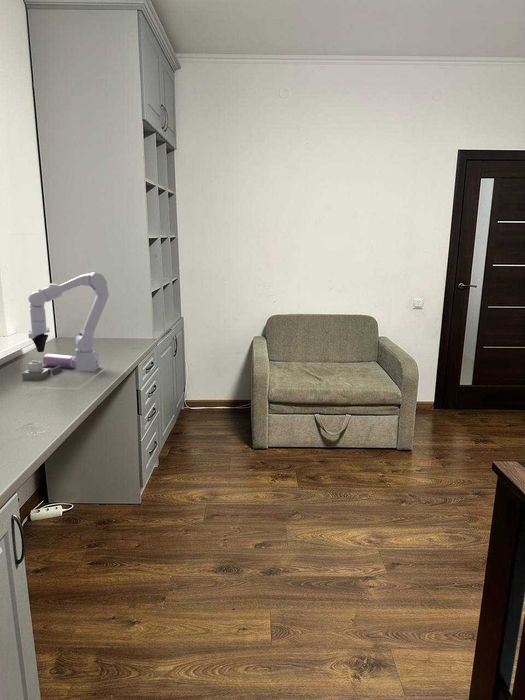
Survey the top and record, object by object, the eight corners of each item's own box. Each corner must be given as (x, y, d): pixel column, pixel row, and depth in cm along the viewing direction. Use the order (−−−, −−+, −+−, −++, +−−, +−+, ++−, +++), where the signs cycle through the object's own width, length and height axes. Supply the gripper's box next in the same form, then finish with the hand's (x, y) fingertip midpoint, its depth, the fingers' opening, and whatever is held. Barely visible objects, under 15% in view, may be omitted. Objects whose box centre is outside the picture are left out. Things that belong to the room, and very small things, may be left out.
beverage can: (41, 367, 217) (71, 370, 214) (41, 354, 217) (71, 357, 213) (50, 365, 223) (79, 368, 220) (50, 352, 222) (79, 355, 219)
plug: (43, 375, 203) (42, 360, 202) (38, 377, 199) (37, 362, 198) (33, 374, 203) (32, 359, 202) (29, 377, 199) (27, 362, 198)
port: (50, 376, 205) (50, 367, 204) (41, 381, 197) (41, 372, 196) (32, 375, 205) (31, 367, 204) (22, 381, 197) (21, 372, 197)
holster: (61, 371, 212) (60, 365, 212) (54, 376, 206) (53, 369, 205) (46, 371, 213) (46, 364, 212) (39, 375, 206) (38, 368, 205)
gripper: (37, 317, 210) (39, 347, 213) (20, 323, 196) (22, 355, 199) (53, 318, 210) (55, 348, 213) (37, 323, 196) (39, 355, 199)
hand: (40, 351), depth 206 cm, fingers closed
